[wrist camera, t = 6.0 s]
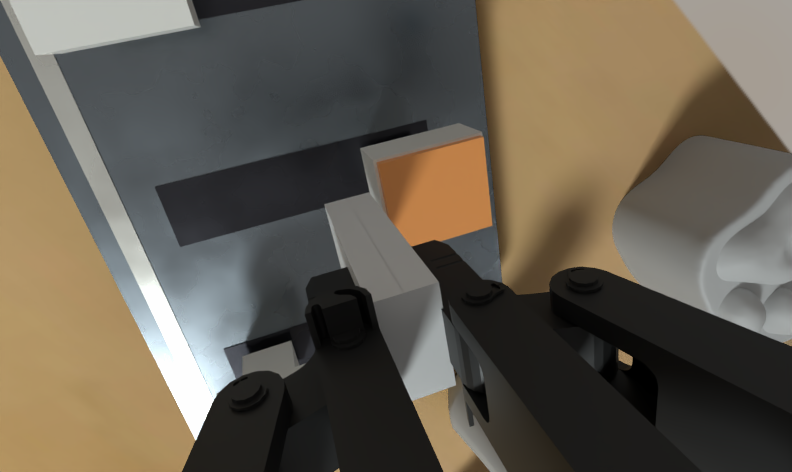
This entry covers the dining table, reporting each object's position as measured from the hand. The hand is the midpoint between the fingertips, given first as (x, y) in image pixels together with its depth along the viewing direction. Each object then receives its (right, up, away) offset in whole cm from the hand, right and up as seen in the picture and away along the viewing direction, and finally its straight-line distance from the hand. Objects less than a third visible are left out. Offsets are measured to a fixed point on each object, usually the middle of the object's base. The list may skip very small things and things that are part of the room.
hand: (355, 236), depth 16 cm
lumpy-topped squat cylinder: (+23, +1, +19) cm, 30 cm away
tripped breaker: (+1, +3, +6) cm, 7 cm away
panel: (-4, +4, +9) cm, 11 cm away
